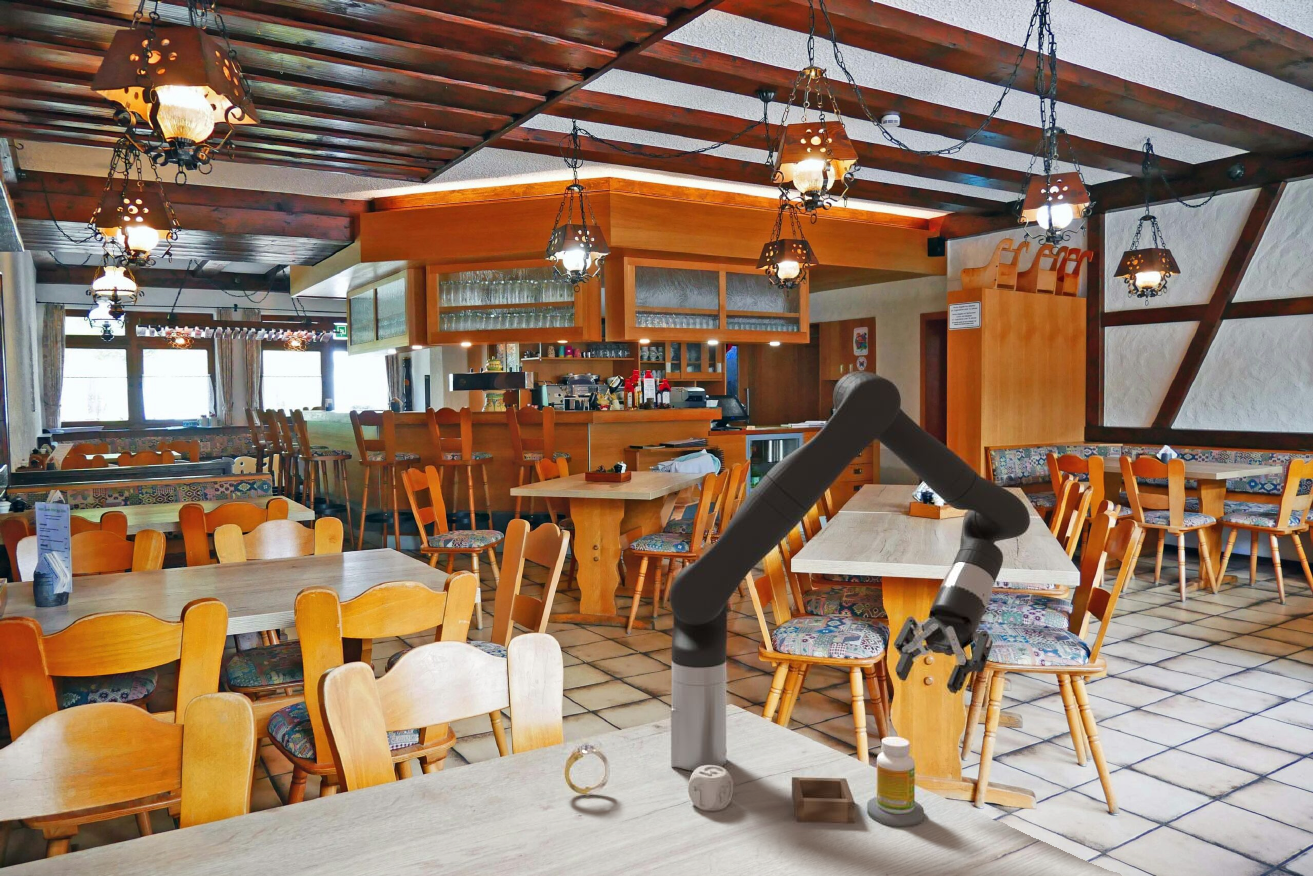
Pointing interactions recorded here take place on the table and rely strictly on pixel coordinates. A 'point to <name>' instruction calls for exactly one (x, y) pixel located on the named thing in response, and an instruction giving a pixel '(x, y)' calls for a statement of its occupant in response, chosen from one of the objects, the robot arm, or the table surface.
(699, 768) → the die
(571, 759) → the ring
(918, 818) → the rubber coaster
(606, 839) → the table surface
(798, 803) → the walnut collar
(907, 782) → the supplement bottle
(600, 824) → the table surface
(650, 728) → the table surface
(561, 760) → the table surface
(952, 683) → the robot arm
